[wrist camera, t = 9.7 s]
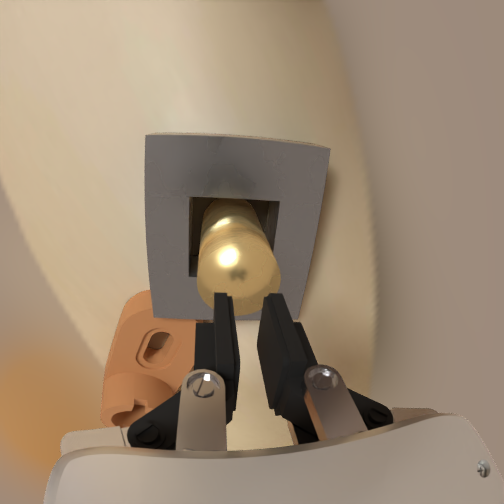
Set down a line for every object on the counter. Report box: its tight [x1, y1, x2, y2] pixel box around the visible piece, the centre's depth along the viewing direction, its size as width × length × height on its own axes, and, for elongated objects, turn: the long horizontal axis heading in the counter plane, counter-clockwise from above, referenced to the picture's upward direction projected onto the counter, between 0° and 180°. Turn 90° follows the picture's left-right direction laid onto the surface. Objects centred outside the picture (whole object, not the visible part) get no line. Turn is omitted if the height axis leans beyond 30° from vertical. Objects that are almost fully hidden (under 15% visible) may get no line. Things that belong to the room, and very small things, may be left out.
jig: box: [145, 133, 330, 320], centre depth 21 cm, size 14×12×4 cm
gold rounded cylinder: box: [197, 198, 281, 316], centre depth 19 cm, size 4×4×9 cm
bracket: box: [100, 290, 204, 428], centre depth 26 cm, size 18×8×7 cm, turn 150°
